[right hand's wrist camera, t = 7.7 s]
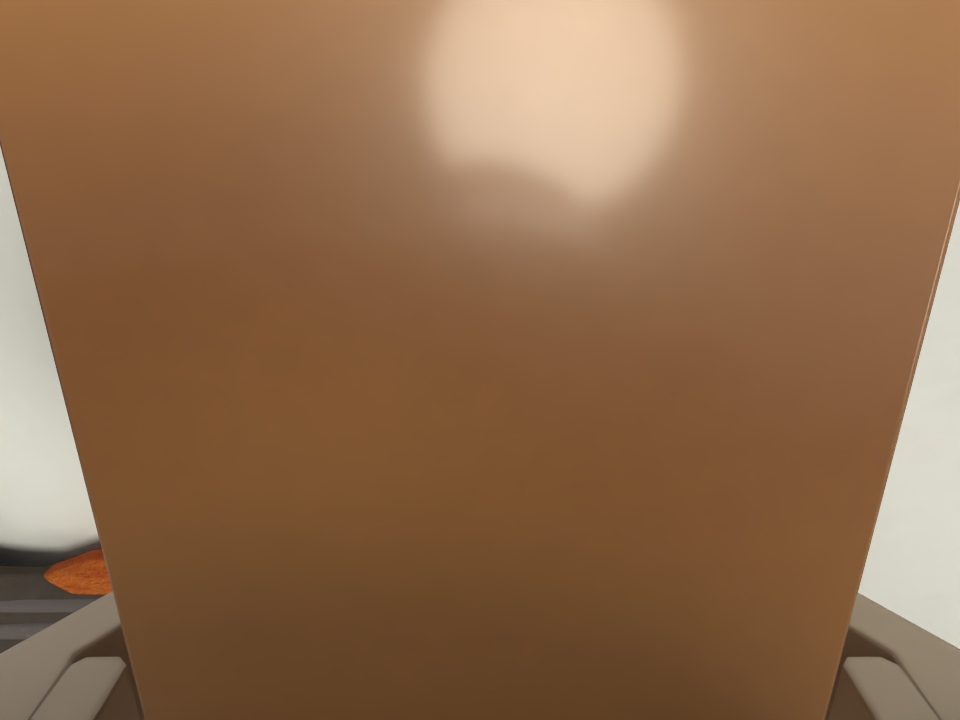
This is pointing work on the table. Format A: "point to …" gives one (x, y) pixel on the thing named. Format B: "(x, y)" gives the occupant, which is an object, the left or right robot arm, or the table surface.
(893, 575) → the table surface
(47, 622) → the toy gun
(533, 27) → the bar
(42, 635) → the right robot arm
